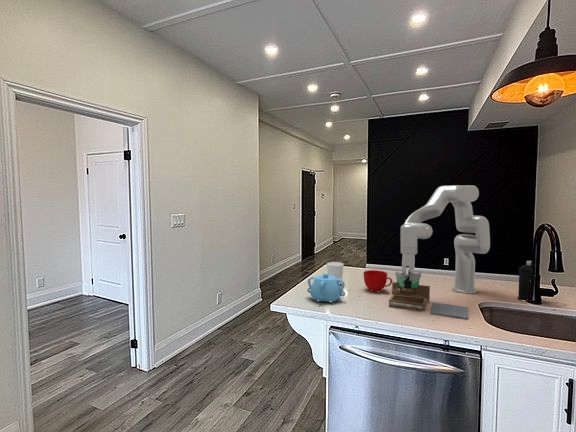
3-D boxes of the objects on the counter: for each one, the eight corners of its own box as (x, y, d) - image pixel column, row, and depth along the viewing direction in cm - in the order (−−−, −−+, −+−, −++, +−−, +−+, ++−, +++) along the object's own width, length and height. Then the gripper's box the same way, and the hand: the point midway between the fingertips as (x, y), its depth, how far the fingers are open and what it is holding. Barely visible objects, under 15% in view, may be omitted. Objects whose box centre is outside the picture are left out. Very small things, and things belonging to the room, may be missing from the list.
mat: (432, 303, 159) (432, 302, 159) (467, 308, 152) (467, 306, 152) (430, 314, 145) (430, 312, 145) (468, 319, 138) (468, 318, 138)
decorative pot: (317, 306, 157) (317, 278, 156) (305, 296, 172) (305, 271, 171) (347, 302, 162) (347, 276, 161) (333, 293, 177) (333, 269, 176)
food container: (395, 294, 155) (396, 273, 155) (394, 290, 161) (394, 270, 161) (423, 295, 152) (423, 274, 152) (420, 292, 158) (421, 271, 158)
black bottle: (516, 300, 163) (517, 261, 162) (519, 296, 169) (520, 258, 168) (536, 303, 158) (538, 263, 157) (538, 299, 164) (540, 260, 163)
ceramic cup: (385, 296, 171) (385, 278, 170) (358, 290, 183) (358, 272, 183) (398, 291, 179) (398, 274, 179) (372, 285, 192) (372, 269, 191)
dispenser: (392, 296, 171) (392, 281, 170) (429, 301, 162) (429, 286, 162) (386, 306, 156) (386, 290, 155) (426, 312, 147) (427, 295, 147)
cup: (331, 281, 202) (331, 261, 201) (346, 284, 196) (346, 263, 196) (324, 285, 194) (324, 264, 193) (338, 287, 188) (338, 266, 188)
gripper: (403, 246, 165) (403, 281, 166) (397, 252, 150) (398, 290, 151) (419, 247, 162) (419, 282, 163) (415, 253, 146) (415, 292, 148)
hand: (408, 286), depth 157 cm, fingers closed on food container, 6 cm apart
